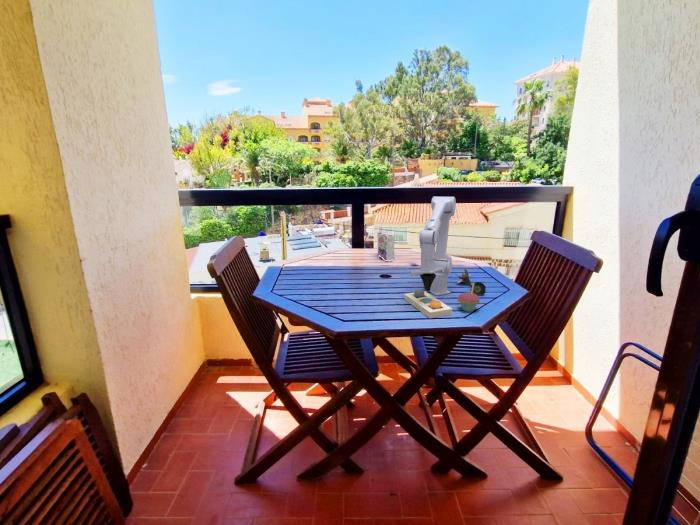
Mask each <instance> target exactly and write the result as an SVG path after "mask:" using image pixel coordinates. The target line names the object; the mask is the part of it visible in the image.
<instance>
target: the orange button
mask: <svg viewBox="0 0 700 525" xmlns="http://www.w3.org/2000/svg"><path fill="white" fill-rule="evenodd" d="M439 301H440V300H439ZM439 301H431V302H430V308H431V309H433V310H435V309H441V302H442V301H441V302H439Z"/></svg>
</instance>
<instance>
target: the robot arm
mask: <svg viewBox="0 0 700 525" xmlns="http://www.w3.org/2000/svg"><path fill="white" fill-rule="evenodd" d="M456 200H457V199H456V197H455V196H436V195H435V196H432V198H431V201H430V202H431V203H430V206H431V210H432V214H431V217H429V218H427V221H426V223H425V226H424V228H423V229H422V230H420V232H419V236H418V239H419V240H418V241H419V248H420V268H417V269H414V270H412V269H411V270H410V276H412V277H416V276H419V277H420V278H421V281H422V284H423V288H424V291H425V292H430V294H433V295H434V296H440V295H446V294H447V295H448V294H451V293H452V292H451V291H449V290H448V275H449V274H450V273H451V272H452V268H453V267H452V266H453V263H452V262H453V260H452V257H451V256H450V255H449V254H448V253H447V249H448V248H447V247H448V238H449V228H450V222H451V218H452V217H453V216H455V214H456V204H457V202H456Z"/></svg>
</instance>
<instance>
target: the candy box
mask: <svg viewBox="0 0 700 525" xmlns="http://www.w3.org/2000/svg"><path fill="white" fill-rule="evenodd" d="M378 255H380V256H381V257H383V258H384V259H385V260H391V259H394V260H395V234H393V233H391V232H388V231H386V230H382V231H377V256H378Z"/></svg>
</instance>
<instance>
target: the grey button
mask: <svg viewBox="0 0 700 525" xmlns="http://www.w3.org/2000/svg"><path fill="white" fill-rule="evenodd" d="M424 291H425V290H420V289H418V290H417V289H416V290H414V292H413V293H414V297H416V298H422V297H424Z"/></svg>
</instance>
